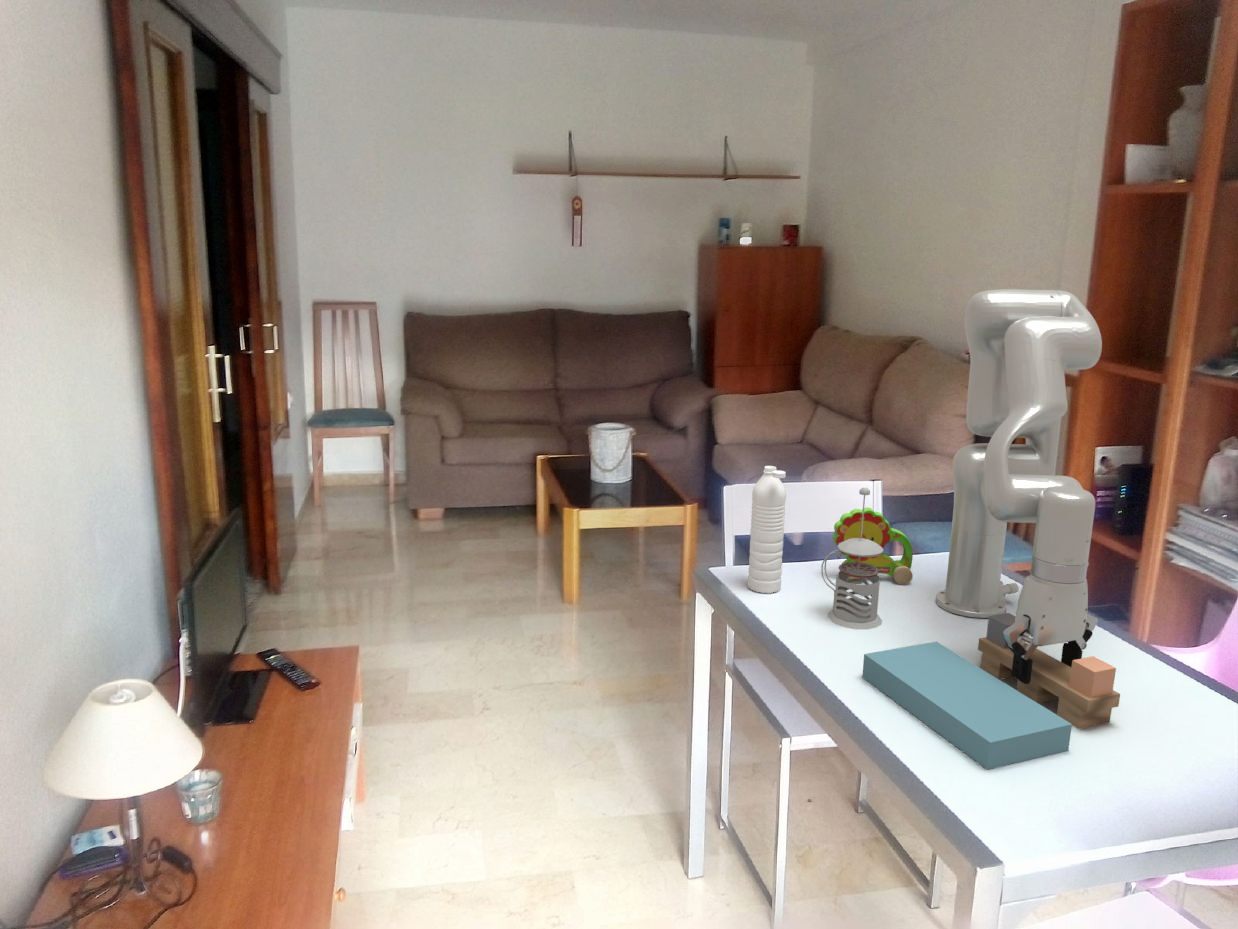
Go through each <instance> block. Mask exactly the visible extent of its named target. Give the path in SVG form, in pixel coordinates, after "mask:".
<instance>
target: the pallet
mask: <svg viewBox="0 0 1238 929" xmlns="http://www.w3.org/2000/svg"><path fill="white" fill-rule="evenodd" d="M1028 645H1029V643H1027V642H1025V644H1024V645H1023V646H1022V647H1023V648H1024V649H1026V647H1027V646H1028ZM977 650H978V651H979V652H981V659H980V660H981V661H980V667H979V668H981V669H982V670H984V671H986V672H987V673H989V674H990V675H992V676H994V677H995V678H997V679H999V680H1000V681H1001V680H1006V679H1009V678H1013V677H1012V665H1013V656H1014V654H1013V653H1012V652H1011V651H1010V649H1009V648H1006V649H1003V648H1002V647H1000V646H998V645H996V644H994V643H993V642H991V641H989V640H987V639H986V637H980V638H978V646H977ZM1030 659H1032V661H1033V663H1032V671H1031V680H1030V683H1029V684H1024V683H1022V682H1021V681H1019V680H1017V684H1016V690H1017V691H1018V692H1020V693H1022V694H1023V695H1025V696H1027V697H1028V698H1030V699H1031V700H1033V701H1035V702H1036V703H1038V704H1040V703H1043V702H1049V701H1052V700H1057V699H1058V704H1057V711H1056V715H1058V716H1059V717H1061V718H1063V719H1064V720H1066V721H1068V722H1069V723H1071V724H1072V727H1074V728H1076V729H1078V730H1080V729H1084V728H1088V727H1092V726H1098V725H1102V724H1106V723H1110V722H1111V718H1112V717H1111V715H1112V709H1113V708H1117V707H1119V704H1120V698H1121V693H1119V692H1118V691H1116V690H1115V689H1113V692H1112V694H1107V695H1102V696H1098V697H1093V698H1090V697H1089V696H1087V695H1085V694H1083V693H1081V692H1080V691H1078V690H1076V689H1074V688H1073V687H1071V686H1069V681H1070V674H1071V667H1070V666H1068V665H1066V664H1064V663H1062V662H1061V660H1059V659H1057V658H1055V657H1054V656H1051V655H1049V654H1047V653H1046V652H1044V651H1041V650H1040V649H1038V648H1036V650H1035V651H1034V652H1033V654H1032V655H1031V656H1030Z"/></svg>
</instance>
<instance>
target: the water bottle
mask: <svg viewBox="0 0 1238 929" xmlns="http://www.w3.org/2000/svg"><path fill="white" fill-rule="evenodd" d="M786 475H787V474H786V471H784V470H779V469H778V470H777V466H774V465H765V466H764V469H763V474H762V475H761V476H760V478H759V479H758V480H757V482H756V483H755V485H754V486H753V489H752V491H751V492H752V493H751V495H752V496H751V497H752V498H751V499H752V500H751V502H752V503H751V520H750V521H751V523H750V535H749V536H750V539H749V557H748V558H749V559H748V561H749V562H748V563H749V565H748V577H747V579H748V580H747V587H748V589H749V590H751V591H752V590H753V591H752V592H756V593H758V592H762V593H761V594H773V592H774V593H778V592H779V591H780V590H781V588H782V572H783V571H782V570H783V568H782V565H783V558H782V557H783V553H784V551H783V548H784V534H785V532H784V531H785V515H786V512H785V511H786V501H787V498H786V497H787V491H786V487H785V486H784V484H783V482H782V481H781V480H780V479H785V478H786Z"/></svg>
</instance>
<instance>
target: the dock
mask: <svg viewBox="0 0 1238 929" xmlns="http://www.w3.org/2000/svg"><path fill="white" fill-rule="evenodd" d="M861 678H863V680H865V681H867V682H869V684H871V685H872V686H874V687H875V688H877V689H878V690H879V691H880V692H882V693H883V694H884V695H886V696H887V697H889V698H890V699H891V700H892V701H894V702H895V703H897V704H898V705H899V706H901V707H902V708H904V710H906V711H907V712H909V713H910V714H912V715H913V716H914V717H915V718H917V719H918V720H920V721H921V722H922V723H923V724H925V725H926V726H928V727H929V728H930V729H932V730H933V731H934V732H936V733H937V734H938V735H940V736H941V737H942V738H944V739H945V740H947V741H948V742H949V743H950V744H952V745H953V746H955V747H956V748H958V749H959V750H960V751H962V753H964V754H965V755H967V756H968V757H970V758H971V759H972V760H973V761H975V762H976V763H977V764H979V765H980V766H981V767H983V768H984V769H986V770H991V769H995V768H999V767H1003V766H1009V765H1013V764H1016V763H1017V764H1018V763H1021V762H1025V761H1029V760H1033V759H1038V758H1043V757H1046V756H1051V755H1055V754H1059V753H1063V752H1068V751H1069V749H1070V741H1071V733H1072V728H1073V725H1072V724H1071V723H1069V722H1068V721H1066V720H1064V719H1063V718H1061V717H1059V716H1058V715H1057V713H1054V712H1053V711H1052V710H1049V709H1048V708H1046V707H1045V706H1043V705H1041V704H1040V703H1036V702H1035V701H1033V700H1031V699H1030V698H1028V697H1027V696H1025V695H1023V694H1022V693H1020V692H1018V691H1017V689H1015V688H1013V687H1012V686H1010V685H1009V684H1007V683H1005V682H1004V681H1002V680H1001V679H1000V680H999V679H997V678H995V677H994V676H992V675H990V674H989V673H987V672H986V671H984V670H982V669H981V668H980V667H979V666H977V665H976V664H974V663H972V662H971V661H970V660H967V659H965V657H963V656H961V655H959V654H958V653H956V652H954V651H953V650H951V649H949V648H948V647H946V646H944V645H943V644H942V643H940V642H938V641H932V642H931V641H930V642H925V643H920V644H919V643H918V644H914V645H909V646H904V647H898V648H897V647H896V648H891V649H884V650H879V651H874V652H868V653H864V654H863V666H862V677H861Z"/></svg>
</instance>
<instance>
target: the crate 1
mask: <svg viewBox="0 0 1238 929" xmlns="http://www.w3.org/2000/svg"><path fill="white" fill-rule="evenodd" d="M1015 616H1016V615H1014V614H1011V613H1010V612H1005V613H1003V614H998V615H992V616H989V618H987V619H988V620H987V627H986V628H987V629H986V630H987V631H986V639H987V640H989V641H991V642H993V643H994V644H996V645H998V646H1000V647H1002V648H1003V649H1006V648H1009V647H1008V646H1007V645H1006V640H1005V637H1004V634H1003V632H1004V630H1005V629H1007V628H1008V627H1009V626H1011V625H1012V624H1014V623H1015ZM1017 638H1019V637H1017Z"/></svg>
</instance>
